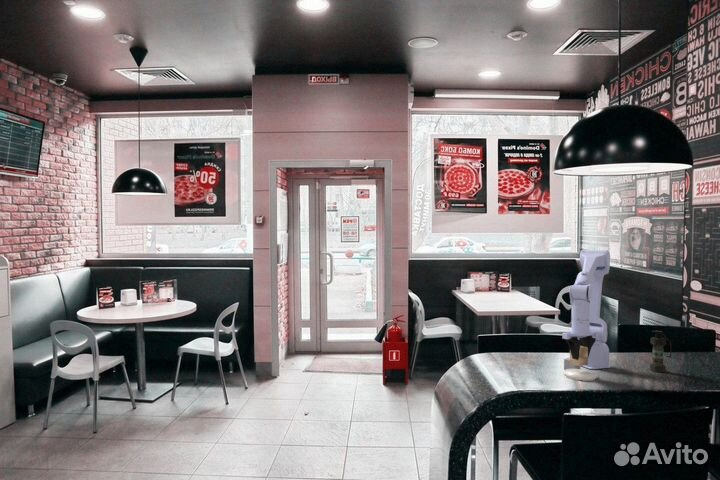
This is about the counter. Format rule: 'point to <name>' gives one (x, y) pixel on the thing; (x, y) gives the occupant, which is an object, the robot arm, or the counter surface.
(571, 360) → the oak block
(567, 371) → the coaster
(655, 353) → the grenade
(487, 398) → the counter surface
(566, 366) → the grey block
